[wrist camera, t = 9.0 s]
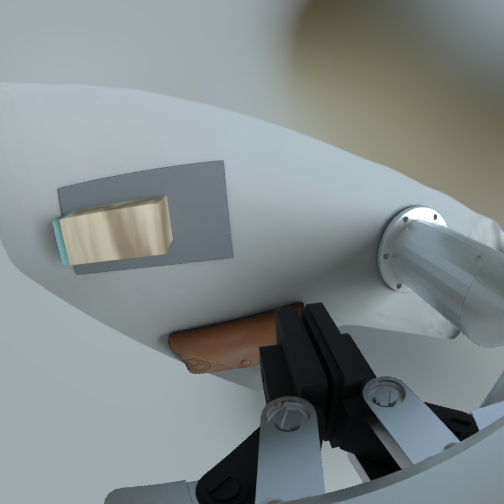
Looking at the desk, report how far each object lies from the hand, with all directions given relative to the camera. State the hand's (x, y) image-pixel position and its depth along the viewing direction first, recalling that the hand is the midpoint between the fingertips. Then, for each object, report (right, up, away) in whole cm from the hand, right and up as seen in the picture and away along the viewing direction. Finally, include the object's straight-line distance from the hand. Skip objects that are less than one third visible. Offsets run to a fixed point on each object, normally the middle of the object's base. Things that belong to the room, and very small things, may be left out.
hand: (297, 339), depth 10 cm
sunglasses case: (-3, -9, +29) cm, 30 cm away
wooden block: (-10, +6, +19) cm, 23 cm away
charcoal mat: (-14, +7, +22) cm, 27 cm away
